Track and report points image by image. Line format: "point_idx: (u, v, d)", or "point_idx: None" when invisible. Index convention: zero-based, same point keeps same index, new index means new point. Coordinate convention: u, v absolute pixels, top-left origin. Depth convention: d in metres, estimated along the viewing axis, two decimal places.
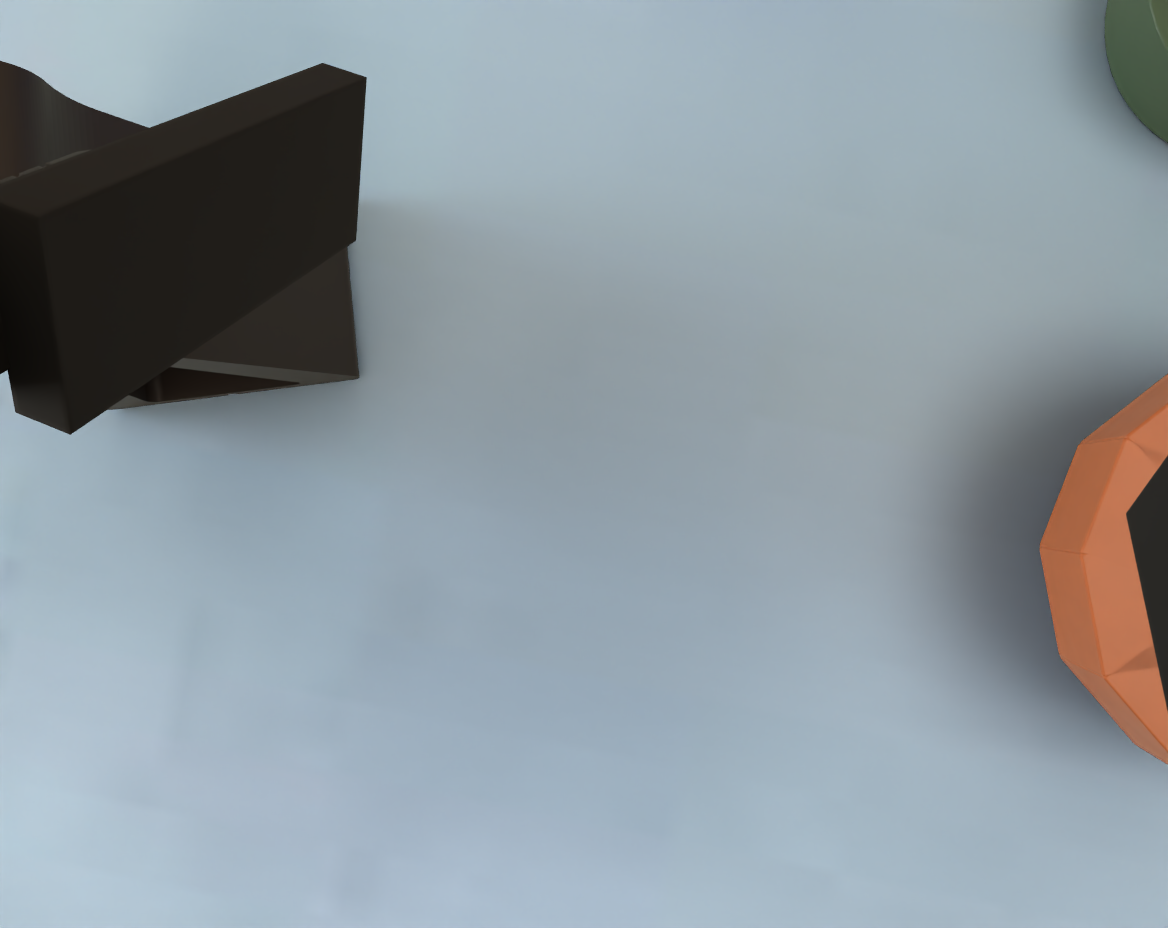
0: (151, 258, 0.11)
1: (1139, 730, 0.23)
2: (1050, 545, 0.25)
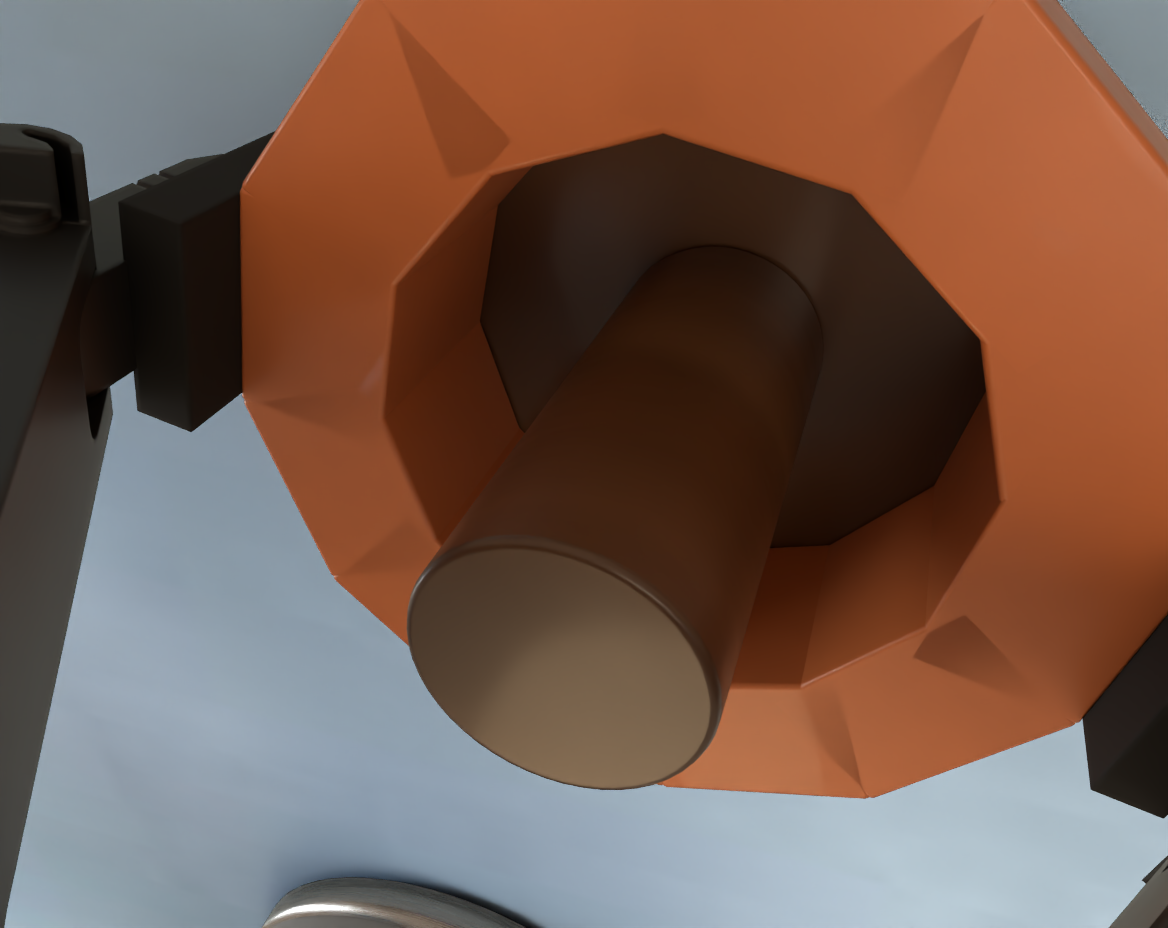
0: None
1: None
2: None
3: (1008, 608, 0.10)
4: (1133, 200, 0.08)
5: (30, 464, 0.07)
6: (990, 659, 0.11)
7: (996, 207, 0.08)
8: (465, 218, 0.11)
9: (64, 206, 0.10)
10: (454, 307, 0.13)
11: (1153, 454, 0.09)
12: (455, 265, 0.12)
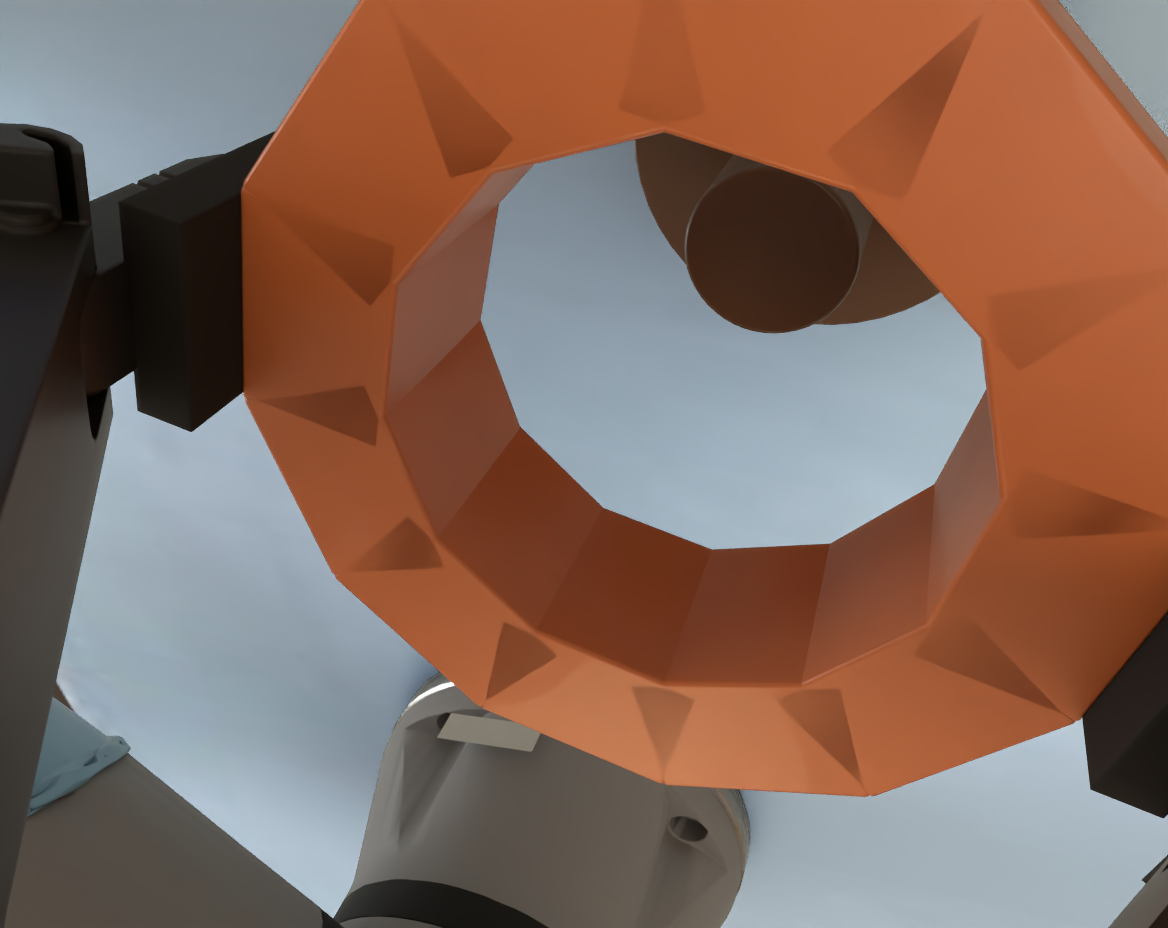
0: None
1: None
2: None
3: (1007, 606, 0.10)
4: (1133, 198, 0.08)
5: (30, 465, 0.07)
6: (991, 657, 0.11)
7: (996, 205, 0.08)
8: (466, 216, 0.11)
9: (63, 207, 0.10)
10: (455, 305, 0.13)
11: (1152, 452, 0.09)
12: (456, 263, 0.12)
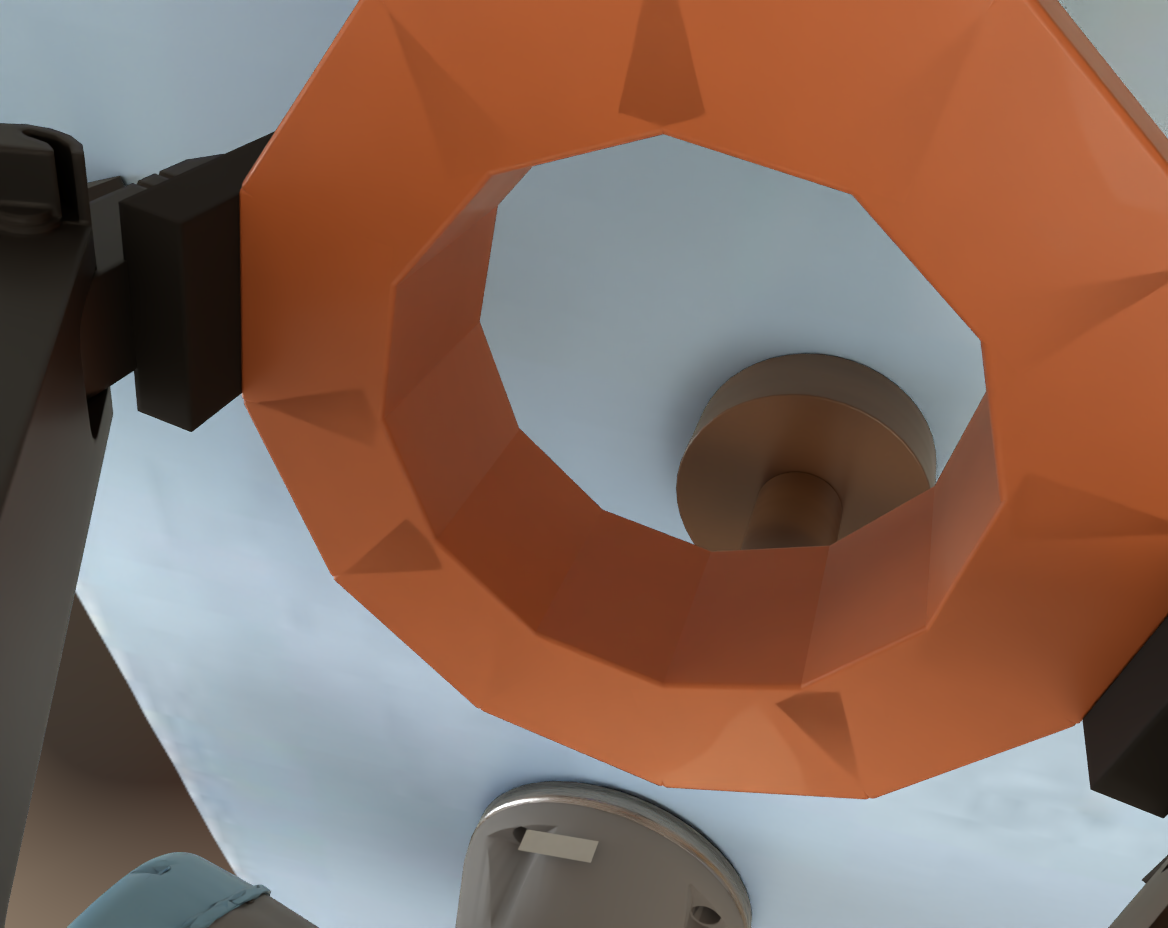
0: None
1: None
2: None
3: (1008, 609, 0.10)
4: (1134, 200, 0.08)
5: (30, 464, 0.07)
6: (991, 658, 0.11)
7: (997, 208, 0.08)
8: (465, 218, 0.11)
9: (64, 206, 0.10)
10: (454, 307, 0.13)
11: (1153, 455, 0.09)
12: (455, 265, 0.12)
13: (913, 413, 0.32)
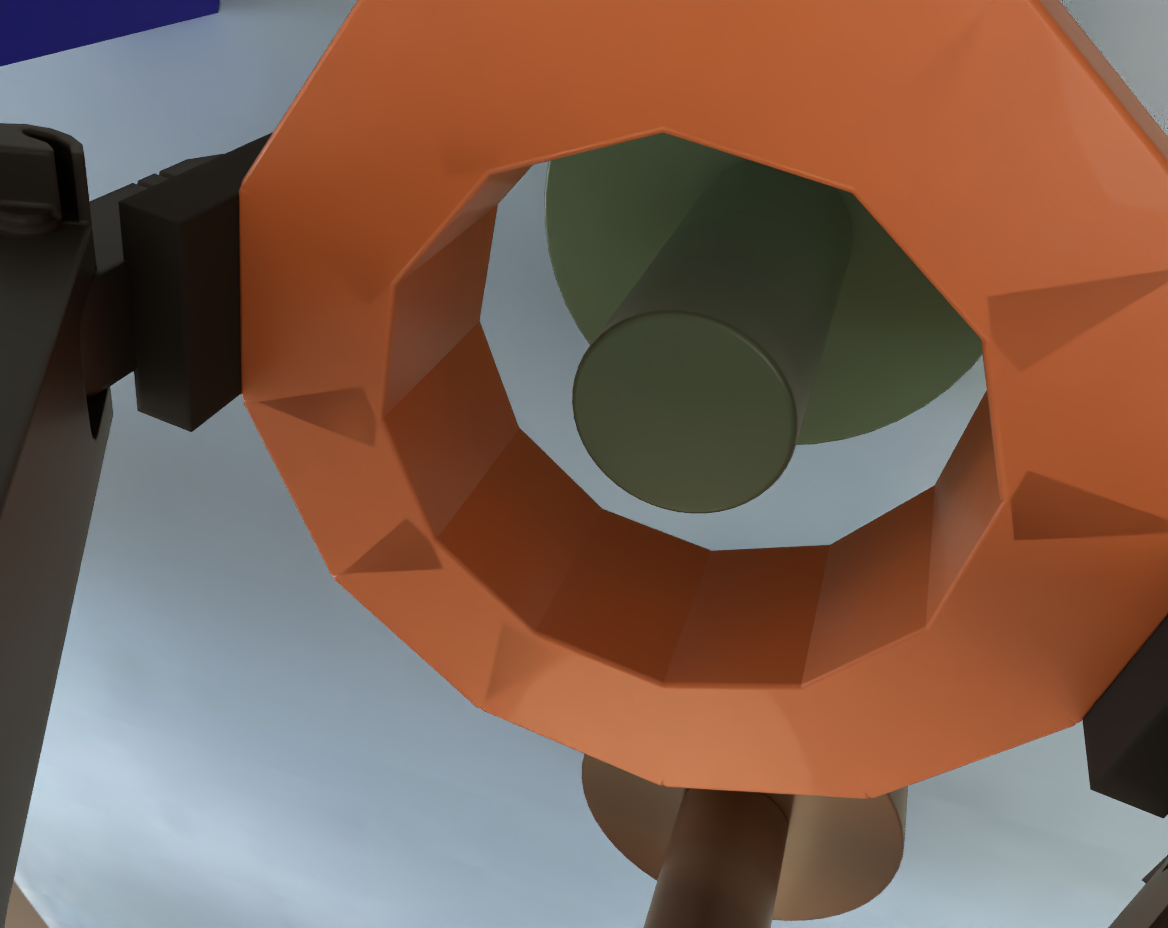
0: None
1: None
2: None
3: (1008, 608, 0.10)
4: (1135, 198, 0.08)
5: (30, 464, 0.07)
6: (991, 658, 0.11)
7: (997, 205, 0.08)
8: (465, 217, 0.11)
9: (63, 206, 0.10)
10: (454, 306, 0.13)
11: (1154, 454, 0.09)
12: (454, 263, 0.12)
13: None
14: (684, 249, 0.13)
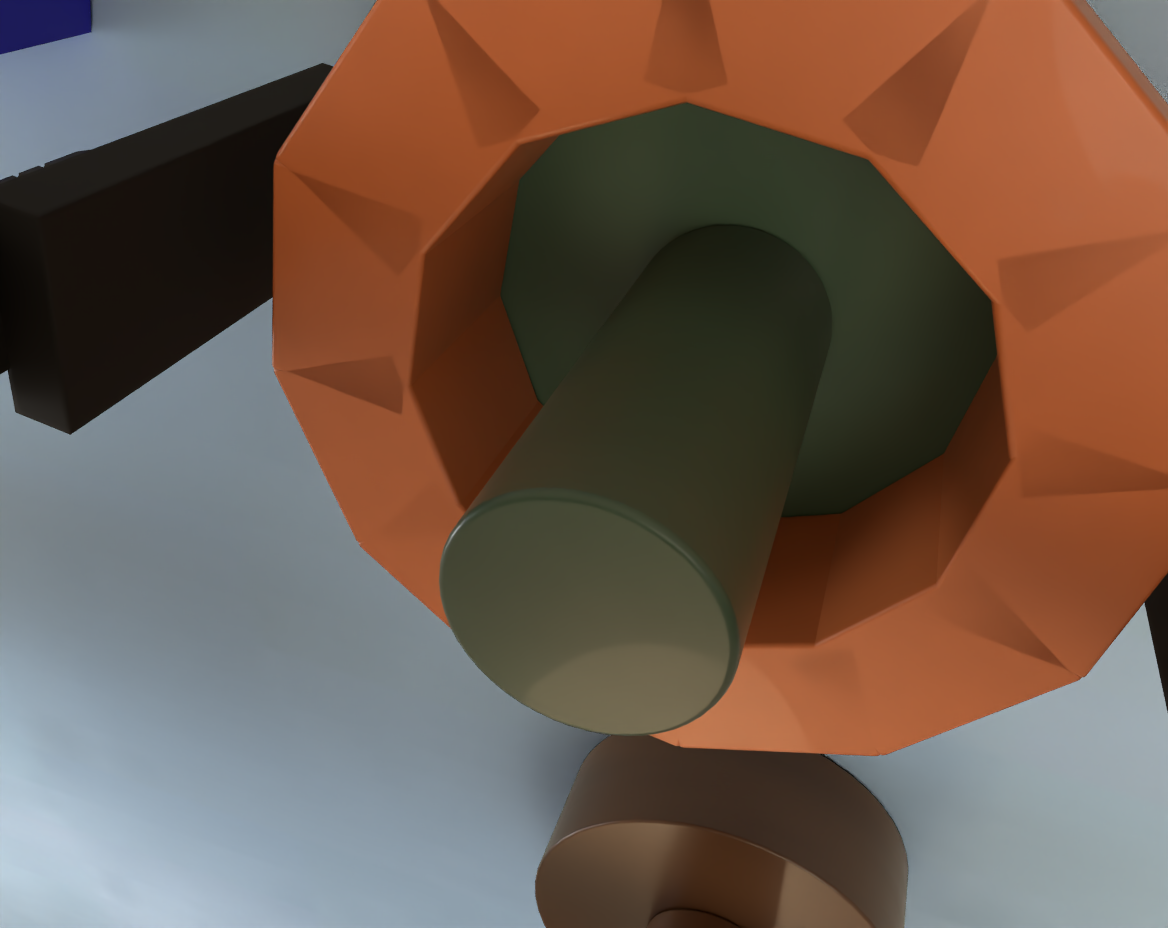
0: (151, 259, 0.11)
1: None
2: None
3: (1016, 564, 0.11)
4: (1139, 162, 0.08)
5: None
6: (999, 615, 0.11)
7: (1007, 171, 0.09)
8: (491, 189, 0.11)
9: None
10: (477, 279, 0.13)
11: (1157, 411, 0.09)
12: (478, 237, 0.13)
13: (872, 822, 0.21)
14: (599, 372, 0.10)
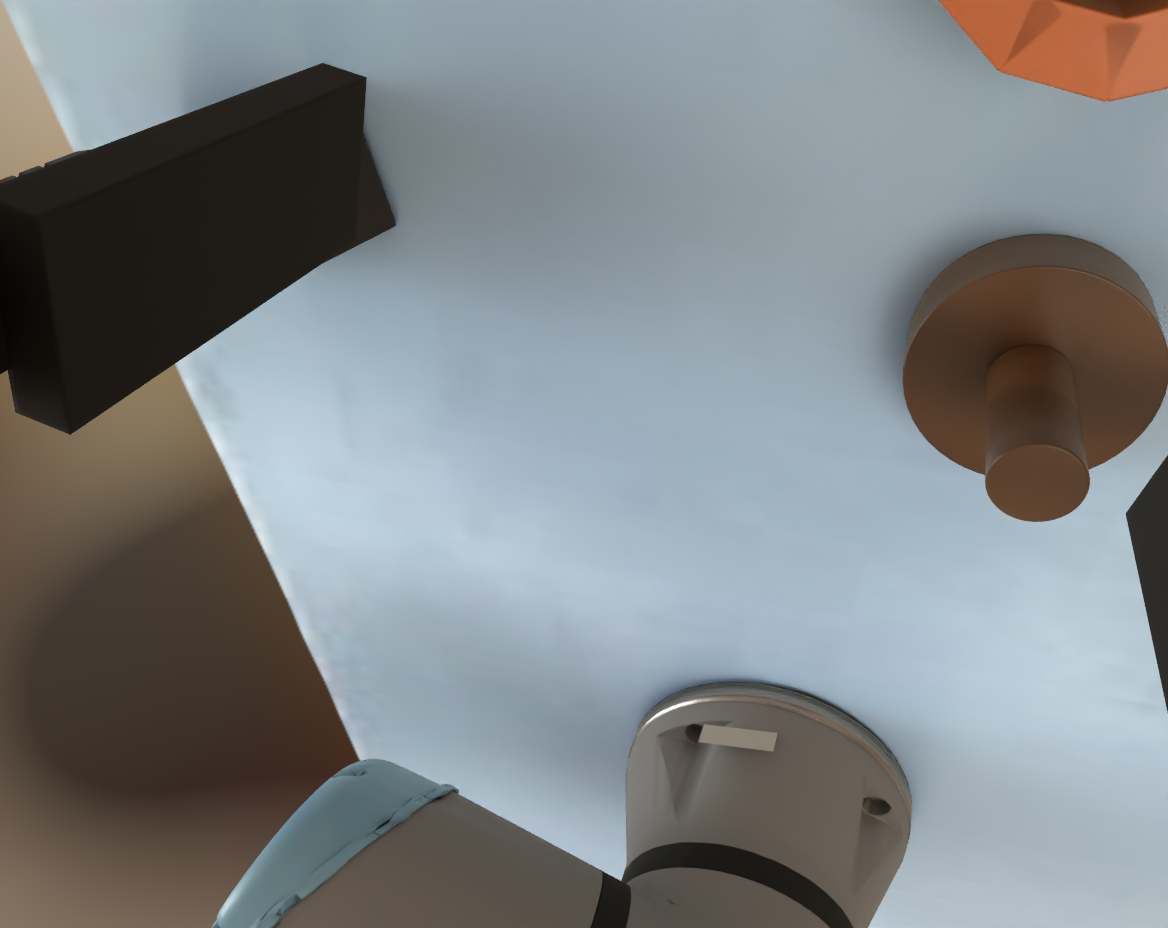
0: (151, 258, 0.11)
1: None
2: None
3: None
4: None
5: None
6: None
7: None
8: None
9: None
10: None
11: None
12: None
13: (1143, 287, 0.33)
14: None
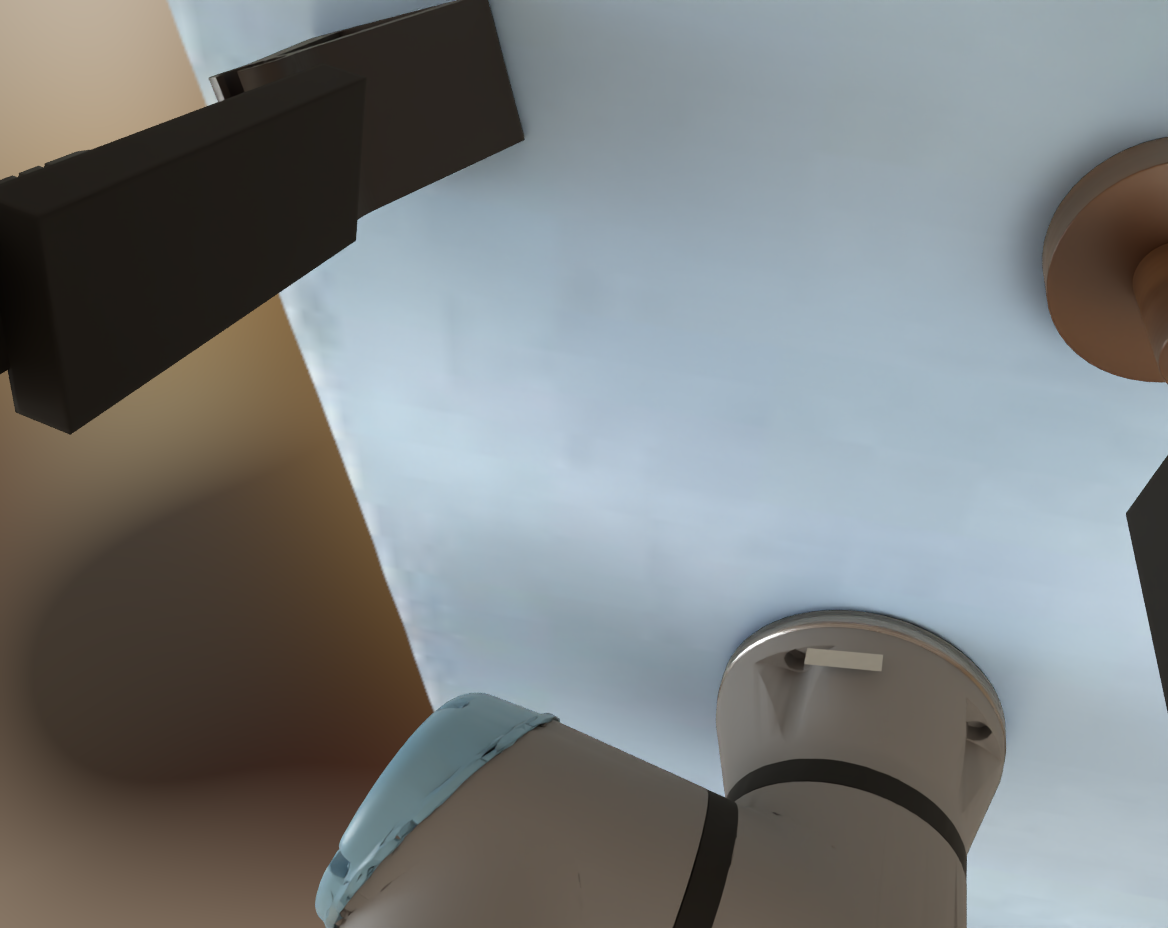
0: (151, 259, 0.11)
1: None
2: None
3: None
4: None
5: None
6: None
7: None
8: None
9: None
10: None
11: None
12: None
13: None
14: None
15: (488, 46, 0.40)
